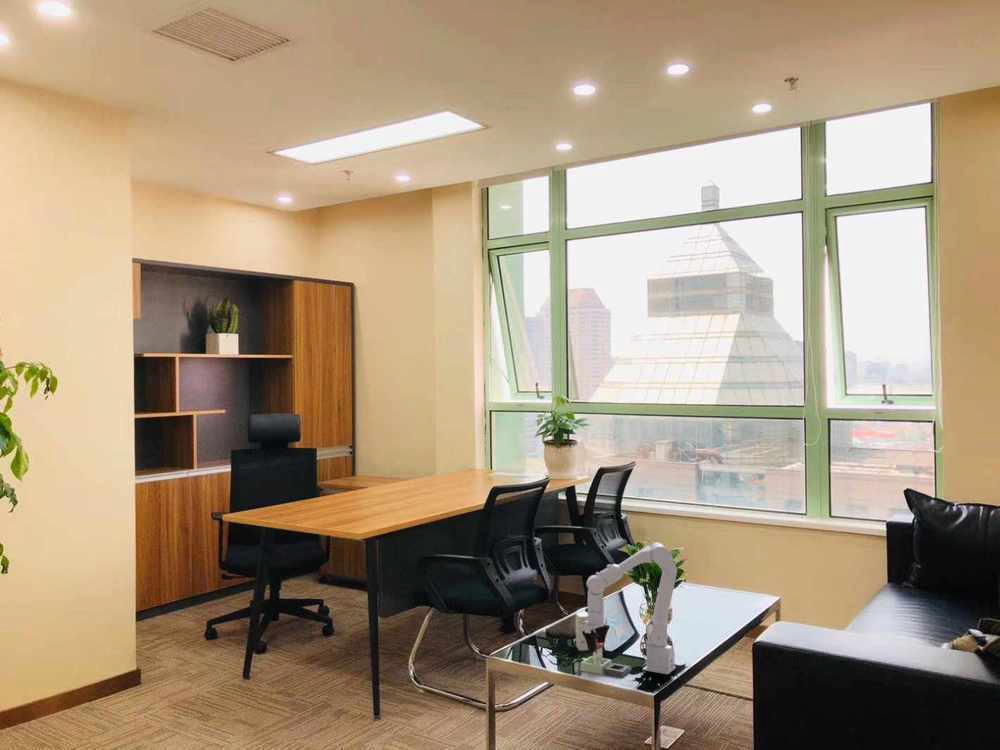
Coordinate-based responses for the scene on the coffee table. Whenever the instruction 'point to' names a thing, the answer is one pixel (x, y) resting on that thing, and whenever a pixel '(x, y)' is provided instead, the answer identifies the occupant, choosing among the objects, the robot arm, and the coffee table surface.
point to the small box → (580, 627)
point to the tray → (594, 665)
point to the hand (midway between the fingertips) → (596, 648)
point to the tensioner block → (617, 670)
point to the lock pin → (598, 653)
